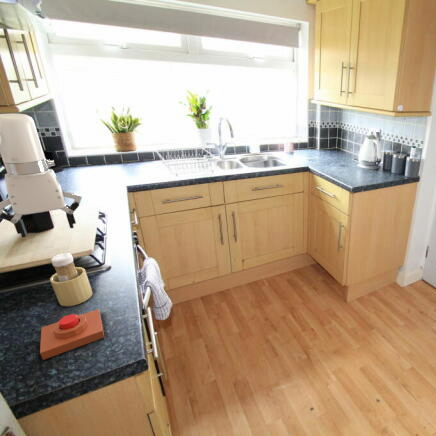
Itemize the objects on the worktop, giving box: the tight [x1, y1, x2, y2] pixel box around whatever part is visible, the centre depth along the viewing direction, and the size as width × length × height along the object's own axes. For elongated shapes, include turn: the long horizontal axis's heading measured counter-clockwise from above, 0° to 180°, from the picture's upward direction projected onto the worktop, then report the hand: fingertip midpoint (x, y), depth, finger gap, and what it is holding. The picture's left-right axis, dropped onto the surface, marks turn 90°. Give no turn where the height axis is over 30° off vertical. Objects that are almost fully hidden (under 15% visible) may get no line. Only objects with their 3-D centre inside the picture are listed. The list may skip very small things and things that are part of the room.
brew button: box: [58, 313, 79, 330], centre depth 79 cm, size 4×4×2 cm
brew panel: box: [39, 308, 105, 361], centre depth 80 cm, size 12×10×4 cm
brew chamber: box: [49, 266, 93, 307], centre depth 92 cm, size 8×8×8 cm
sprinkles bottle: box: [50, 252, 78, 282], centre depth 91 cm, size 5×5×14 cm
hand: (49, 230), depth 84 cm, fingers open, 9 cm apart
